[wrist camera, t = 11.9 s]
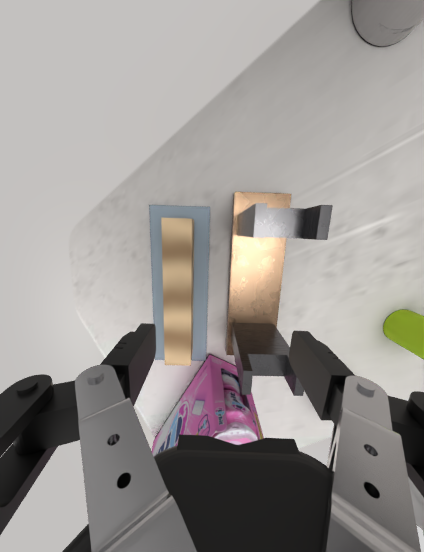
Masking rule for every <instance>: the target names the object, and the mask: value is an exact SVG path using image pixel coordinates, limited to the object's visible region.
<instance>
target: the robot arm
mask: <svg viewBox="0 0 424 552" xmlns="http://www.w3.org/2000/svg"><path fill="white" fill-rule="evenodd" d="M352 15H353V21H354V24H355V26H356V29H357V31H358V32H359V34H360V35H361V37H363V38H364V39H365V40H366V41H367V42H369V43H371V44H373V45H377V46H389V45H392V44H395V43H397V42H399V41H400V40H402V39H404V38H405V37H406V36H407V35H408V34H409V33H410V32H411V31H412V30H413V29H414V28H415V27H416V26H417V25H418V24H419V23H420V22H421V21H422V20H423V19H424V0H352ZM155 354H156V326H155V324H143V323H142V324H140V326H139V327H138V328H137V330H136V331H135V332H129V333H128V334H126V335H125V336H123V337H122V338H121V340H120V341H119V342H118V344H117V345H116V346H115V347H114V349H112V351H111V352H110V353H109V354H108V356H107V357H106V358H105V359H104V360H103V362H102V363H101V364H100V365H97V366H93V367H91V368H89V369H86V370H85V371H83V372H82V373H81V374H80V375H79V376H78V377H77V378H76V380H75V381H71V382H65V383H60V384H54V385H53V383H52V379H51V377H50V376H48V375H34V376H31V377H27V378H25V379H22V380H20V381H18V382H16V383H14V384H13V385H11V386H10V387H9V388H7V389H6V390H5V391H4V392H3V393H1V394H0V457H1V455H2V454H3V453H4V452H5V451H6V450H7V449H8V447H9V446H10V445H11V444H12V443H13V444H12V445H11V446H10V447H9V449H8V450H7V451H6V452H5V453H4V454H3V456H2V457H1V458H0V535H1V533H2V532H3V530H4V529H5V527H6V526H7V524H8V522H9V521H10V519H11V518H12V516H13V515H14V513H15V512H16V510H17V509H18V507H19V505H20V504H21V502H22V501H23V499H24V498H25V496H26V495H27V493H28V492H29V490H30V488H31V487H32V485H33V484H34V482H35V481H36V479H37V477H38V476H39V475H40V473H41V471H42V470H43V468H44V467H45V465H46V463H47V462H48V460H49V459H50V457H51V456H52V454H53V453H54V451H55V450H56V448H57V447H58V446H59V445H63V444H67V443H70V442H73V441H78V440H80V444H81V454H82V463H83V473H84V483H85V492H86V502H87V512H88V521H89V524H88V525H87V526H86V527H85V528H84V529H83V530H82V531H81V532H80V533H79V534H78V535H77V537H76V538H75V539H74V540H73V541H72V542H71V543H70V544H69V545H68V546H67V547H66V548H65V549H64V550H63V552H421V549H420V544H419V538H418V532H417V526H416V520H415V514H414V509H413V503H412V497H411V491H410V486H409V480H408V477H409V478H410V480H411V481H412V482H413V484H414V485H415V487H416V488H417V489H418V491H419V492H420V493H421V495H422V496H423V497H424V392H412V393H411V394H410V397H409V400H408V401H406V400H402V399H398V398H395V397H391V396H388V395H387V394H386V392H385V391H384V390H383V389H382V388H381V387H380V386H379V385H377V384H376V383H374V382H372V381H370V380H368V379H366V378H363V377H360V376H355V375H354V374H353V373H352V372H351V371H350V370H349V369H348V367H347V366H346V365H345V364H344V363H343V362H342V361H341V360H340V359H338V357H337V356H336V355H335V354H333V352H332V351H331V350H330V349H329V348H328V347H327V346H326V345H325V344H323V343H321V342H320V341H317V340H316V339H315V338H314V337H313V336H312V335H311V334H310V333H309V332H308V331H294V332H293V334H292V339H291V346H290V352H289V362H290V365H291V367H292V369H293V371H294V373H295V374H296V376H297V378H298V380H299V381H300V383H301V385H302V387H303V389H304V390H305V392H306V394H307V396H308V398H309V399H310V401H311V403H312V405H313V406H314V408H315V410H316V412H317V414H318V415H319V417H320V419H321V420H332V421H333V423H334V427H333V431H332V437H331V443H330V448H329V454H328V460H327V466H326V465H324V464H322V463H321V462H320V461H318V460H316V459H315V458H313V457H311V456H309V455H307V454H304V453H302V452H300V451H299V450H298V448H297V445H296V443H295V440H294V439H279V438H264V439H260V440H256V441H252V442H248V443H245V444H241V445H236V444H232V443H229V442H226V441H223V440H220V439H217V438H214V437H210V436H205V435H181V434H179V438H178V445H177V446H174V447H171V448H168V449H166V450H164V451H162V452H160V453H158V454H157V455H155V456H154V457H153V454H152V452H151V449H150V447H149V444H148V442H147V440H146V437H145V434H144V432H143V429H142V427H141V424H140V422H139V419H138V417H137V414H136V412H135V410H134V407H133V406H134V404H135V402H136V400H137V397H138V395H139V393H140V391H141V388H142V386H143V384H144V381H145V379H146V377H147V375H148V372H149V370H150V368H151V366H152V363H153V361H154V358H155Z"/></svg>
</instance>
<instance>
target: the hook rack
mask: <svg viewBox="0 0 424 552" xmlns="http://www.w3.org/2000/svg"><path fill="white" fill-rule="evenodd" d="M290 200H291V194H281V193H252V192H235V193H234V201H233V220H232V240H231V260H230V279H229V299H228V319H227V338H226V354H227V355H234V357H235V362H236V368H237V373H238V378H239V383H240V388H241V393H242V395H251V386H252V376H284V377H285V379H286V381H287V383H288V385H289V387H290V389H291V391H292V393H293V395H294V396H303V392H304V389H303V387H302V385H301V383H300V381H299V380H298V378H297V376H296V374H295V373H294V371H293V369H292V367H291V365H290V362H289V352H290V347H289V346H288V344H287V343H286V341H285V340H284V338H283V337H282V336H281V334H280V333H279V331H278V330H277V328H276V327H277V318H278V309H279V300H280V291H281V282H282V273H283V264H284V255H285V246H286V238H303V239H317V240H327V238H328V231H329V225H330V218H331V212H332V206H333V205H319V206H315V207H311V208H307V209H294V208H290Z"/></svg>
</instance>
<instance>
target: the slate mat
mask: <svg viewBox="0 0 424 552" xmlns="http://www.w3.org/2000/svg"><path fill="white" fill-rule="evenodd" d="M149 210H150V237H151V264H152V291H153V317H154V324H155V326H156V354H155V360H165V353H164V310H163V267H162V225H161V218H188V219H193V220H194V291H193V352H192V359H191V360H192V361H206V339H207V301H208V263H209V226H210V207H196V206H166V205H149Z"/></svg>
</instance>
